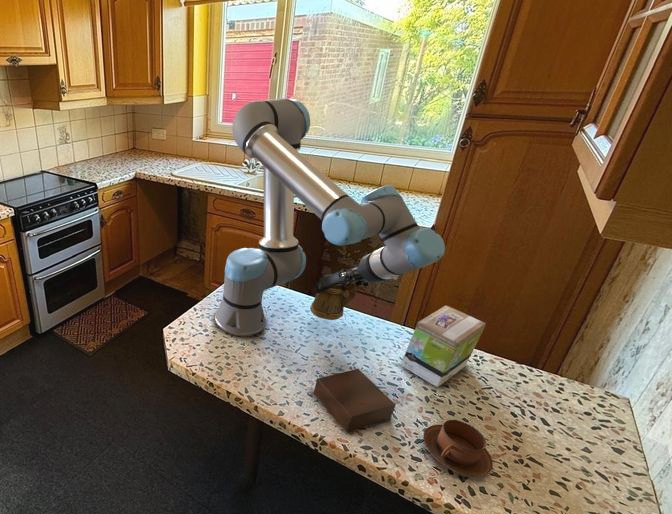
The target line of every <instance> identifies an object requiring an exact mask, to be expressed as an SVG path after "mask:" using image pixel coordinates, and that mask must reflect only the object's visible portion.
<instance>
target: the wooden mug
mask: <svg viewBox="0 0 672 514" xmlns="http://www.w3.org/2000/svg"><path fill="white" fill-rule="evenodd" d="M328 275H329V274H325V275H324V276H328ZM353 280H354V279H353ZM346 289H347V290H346ZM346 292H348V295H347V296H344V294H345V293H346ZM357 293H358V290H357V287H356V285H355V282H353V283H349V282H346V283H342V284H339V285H335V286H332V287H331V288H330V289H327V290H325V291H323V292H320V293H317V292H316V295H315V297H314V299H313V301H312V302H311V304H310V307H309V310H310V312H311V313H312V314H313V315H314V316H316V317H317V318H320V319H323V320H327V321H336V320H339V319H341V318H342V317H343V316H344V308H345V307H346V305H348V304H349V303H351V302H352V301H353V300H354V299H355V298H356V296H357Z"/></svg>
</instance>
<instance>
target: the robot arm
mask: <svg viewBox="0 0 672 514" xmlns="http://www.w3.org/2000/svg"><path fill="white" fill-rule="evenodd" d="M308 110H309V109H308V108H307V107H306V105H304V103H302V101H300V100H298V99H295V98H286V97H285V98H283V97H282V98H278V99H277V98H276V99H275V98H274V99H266V100H265V99H264V100H252V101H249V102H247V103H246V104H244V105H242V106H241V107H240V108H239V109H238V111H237V112H236V113H235V115H234V118H233V121H232V125H231V126H232V127H231V130H232V131H231V132H232V137H233V139H234V141H235V143H236V146H237V147H238V148H239V149H240V150H241V151H242V152H243V154H245V155H246V156H247V157H248V158H250V159H256V160H257V161H259V163H260V164H262V165H263V236H262V237H261V239H259V240H258V248H255V247H249V248H247V247H243V248H242V247H241V248H238V249H236V250H233V251H232V252H231V253H229V255H228V256H227V258H226V263H225V267H224V280H223V293H222V299H221V301H220V303H219V305H218V307H217V309H216V311H215V315H214V320H215V324H216V326H217V327H218V328H219V329H220V330H221V331H223V332H224V333H226V334H229V335H232V336H235V337H251V336H256V335H258V334H260V333H261V332H262V331H263V330H264V328H265V325H266V318H267V313H268V312H266V313H265V312H264V307H263V295H264V292H265V291H267V290H269V289H272V288H275V287H277V286H280V285H283V284H287V283H289V282H292V281H294V280H295V279H298V278H299V277H300V276H302V274H303V273H304V271H305V269H306V266H307V256H306V253H305V251H303V250H304V249H303V248H302V246H301V245H300V244H299V240H298V239H297V238H296V237H295V236H294V216H295V214H294V213H295V211H294V210H295V197H296V198H298V200H300V201H301V202H302V203H303V204H304V205H305V206H306V207H307V208H308V209H309V210H310V211H311V212H312V213H313V214H315V216H316V217H318V219H320V220H321V221H322V222H321V230H322V232H323V235H324V237H325V240H327V241H328V242H329V243H331V244H333V245H336V246H341V247H342V246H347V245H353V244H357V243H359V242H361V241H363V240H365V239H368V238H371V237H375V236H377V235H378V236H379V237H380V239H381V240H382V242H383V244H384V246H383V247H380V248H378V249H375V250H374V251H373V252H370V253H369V254H366V255H364V256H362V258H361V259H360V261H359V263H358V265H356V266H354V267H352V268H349V269H346V268H342V269H340V270H339V271H336V272H333V273H331V274H327V275H328V276H325V275H323V276H322V277H320V278H319V279H318V282H315V283H314V287H315V291H316V294H317V293H320V292H323V291H325V290H327V289H330V288H331V287H332V286H335V285H339V284H342V283H346V282H349V283H353V282H355V285H356V288H357V287H360V286H362V285H363V287H368V286H369V283H370V284H376V285H377V284H382V283H384V282H387V281H390V280H391V279H393V280H395V281H396V280H398V279H399V277H400V276H403V275H405V274H408V273H412V272H414V271H417V270H420V269H423V268H425V267H428V266H430V265H432V264H434V263H436V262H438V261H439V260H441V259H442V258H443V256H444V255H445V252H446V246H445V242H444V239H443V238H442V236H441V234H438V233H436V231H435V230H433V229H431V228H427V227H426V228H425V227H423V228H421V227H420V225H419V224H418V223H417V221H416V220H415V217H414V215H413V214H412V213H411V211H410V209H409V208H408V205H407V204H406V202H405V201H404V198H403V196H402V195H401V194H400V193H399V192H398V190H397V189H396V188H395V186H394V185H392V184H386V185H383V186H381V187H378V188H376V189H374V190H372V191H370V192H368V193H366V194H365V195H364V196H362V197H361V199H360V203H358V202H357V201H356V200H355V199H354V198H353V197H351V196H350V195H349V194H348V193H347V192H345V191H344V190H343V189H342V188H341V187H339V185H337V184H336V183H335V182H334V181H332V180H331V179H330V178H329V177H328V176H327V175H326V174H324V173H323V171H321V170H320V169H319V168H317V166H315V165H314V164H313V163H312V162H311V161H310V160H308V158H306V157H305V156H304V155H303V154H301V152H299V151H300V150H301V148H302V147H301V145H302V144H301V143H302V142H301V141H302V140H303V139H304V138H305V137H306V135H307V134H308V133H309V130H310V127H311V117H310V116H311V115H310V113H309V111H308ZM353 279H354V280H353ZM346 291H348V290H347V289H346Z"/></svg>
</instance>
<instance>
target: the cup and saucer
mask: <svg viewBox="0 0 672 514" xmlns="http://www.w3.org/2000/svg"><path fill="white" fill-rule="evenodd" d="M423 442H424V445H425V447H426V449H427V451H428V452H429V453H430V455H431V456H432V457H433V458H434V459H435V460H436V461H437V462H439V463H440V464H441V465H443V466H444V467H446V468H447V469H449V470H451V471H453V472H454V473H457V474H460V475H463V476H467V477H472V478H481V477H485V476H486V475H488V474H490V473H491V472H492V471H493V468H494V462H493V458H492V455H491V454H490V452H489V450H488V449H487V448H486V447H487V440H486V438H485V436H484V434H482V432H480V431H479V430H478V429H477V428H476V427H474V426H473V425H471V424H470V423H466V422H465V421H462V420H458V419H447V420H446V421H445V422H443V423H442V424H432V425H430V426H428V427H427V428H426V429H425V430H424V432H423Z"/></svg>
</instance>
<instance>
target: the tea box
mask: <svg viewBox="0 0 672 514" xmlns="http://www.w3.org/2000/svg"><path fill="white" fill-rule="evenodd" d="M485 328H486V322H484V321H482V320H479V319H477V318H475V317H473V316H471V315H468V314H466V313H464V312H462V311H460V310H457V309H456V308H453V307H451V306H449V305H444V306H442V307H441V308H439V309H438V310H436V311H434V312H432V313H431V314H429V315H428V316H426V317H424V318H423V319H421V320H419V321H418V322H417V323H416V326H415V329H414V330H413V334H412V336H411V338H410V341H409V343H408V346H407V348H406V350H405V353H404V355H403V358H402V361H401V363H400V366H401V367H403V368H405V369H406V370H407V371H409V372H411V373H412V374H415V375H416V376H417V377H419V378H421V379H423V380H424V381H426V382H428V384H431V385H433V386H434V387H436V388H438V387H440V386H441V385H443V384H444V383H445V382H447V381H448V380H450V379H451V378H452V377H453V376H454V375H456V374H457V373H459V372H460V371H461V370H463V369H464V368H465V367H466V366H467V364H468V362H469V361H470V357H471V356H472V354H473V352H474V350H475V348H476V345H477V344H478V342H479V339H480V338H481V335H482V334H483V332H484V330H485Z"/></svg>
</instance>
